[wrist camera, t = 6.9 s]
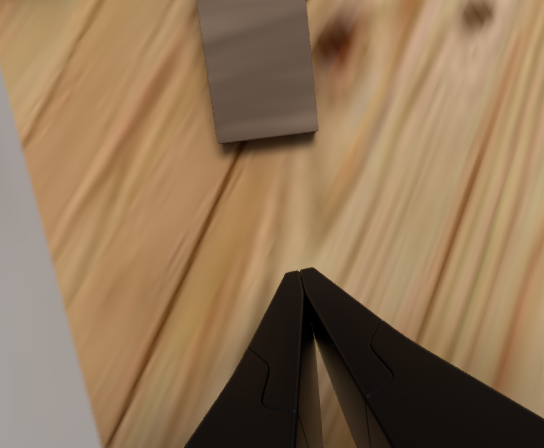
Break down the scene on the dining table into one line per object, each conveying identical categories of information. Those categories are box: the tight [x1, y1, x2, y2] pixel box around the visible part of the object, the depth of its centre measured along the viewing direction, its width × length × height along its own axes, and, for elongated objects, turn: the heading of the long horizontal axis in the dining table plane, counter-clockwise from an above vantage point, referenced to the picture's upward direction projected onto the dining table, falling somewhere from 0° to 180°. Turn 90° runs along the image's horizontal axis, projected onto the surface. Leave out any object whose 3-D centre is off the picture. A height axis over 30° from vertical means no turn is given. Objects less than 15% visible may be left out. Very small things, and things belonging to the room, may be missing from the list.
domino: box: [197, 0, 318, 144], centre depth 18 cm, size 2×5×10 cm
